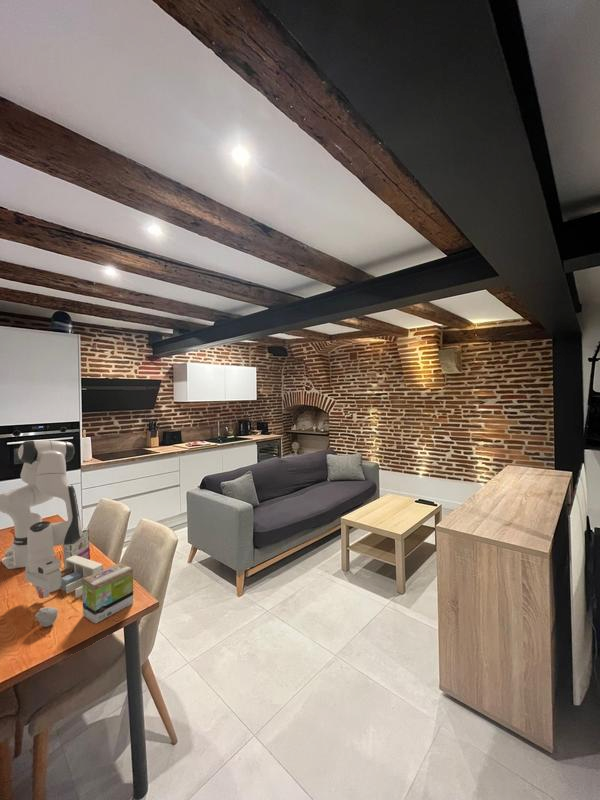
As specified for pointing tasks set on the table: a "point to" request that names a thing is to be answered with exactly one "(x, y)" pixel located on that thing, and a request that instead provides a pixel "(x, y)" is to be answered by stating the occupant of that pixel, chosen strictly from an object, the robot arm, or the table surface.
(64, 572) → the walnut block
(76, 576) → the tethered block
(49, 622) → the grey rounded lump
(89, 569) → the lane shelf
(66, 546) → the candy bar box
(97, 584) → the tea box
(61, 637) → the table surface
